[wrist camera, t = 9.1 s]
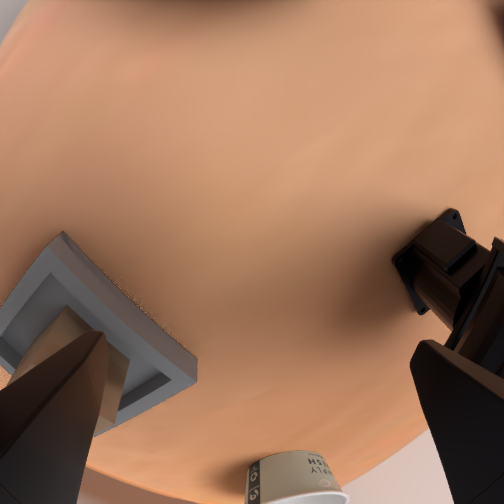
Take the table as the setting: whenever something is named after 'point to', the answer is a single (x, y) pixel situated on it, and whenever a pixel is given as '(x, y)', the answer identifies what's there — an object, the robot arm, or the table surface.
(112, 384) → the cube
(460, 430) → the robot arm
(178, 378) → the tray
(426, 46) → the table surface
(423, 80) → the table surface
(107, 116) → the table surface
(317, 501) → the food container
